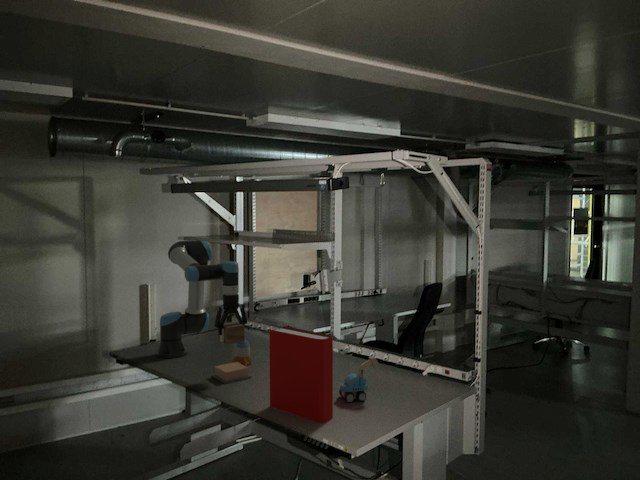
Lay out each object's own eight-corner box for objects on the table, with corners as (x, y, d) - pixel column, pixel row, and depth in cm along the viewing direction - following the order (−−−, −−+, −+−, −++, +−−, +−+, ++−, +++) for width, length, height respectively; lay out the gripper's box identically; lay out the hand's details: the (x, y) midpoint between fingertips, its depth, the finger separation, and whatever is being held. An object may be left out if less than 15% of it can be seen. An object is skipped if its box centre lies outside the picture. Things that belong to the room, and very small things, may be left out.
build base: (212, 376, 246) (211, 366, 246) (237, 370, 255) (237, 361, 254) (225, 384, 235) (224, 373, 235) (251, 378, 243) (251, 367, 243)
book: (269, 406, 208) (269, 329, 206) (283, 400, 214) (282, 326, 212) (321, 423, 190) (321, 339, 189) (334, 417, 197) (334, 335, 195)
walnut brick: (218, 340, 245) (217, 324, 245) (234, 337, 251) (234, 321, 250) (227, 344, 237) (227, 327, 237) (244, 341, 243) (244, 325, 242)
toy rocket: (250, 371, 256) (243, 344, 254) (230, 374, 259) (223, 346, 256) (256, 362, 266) (249, 336, 264) (237, 365, 269) (230, 338, 266)
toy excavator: (381, 399, 215) (381, 359, 214) (344, 403, 210) (344, 363, 210) (373, 392, 223) (373, 354, 223) (337, 396, 219) (337, 357, 218)
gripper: (213, 297, 233) (213, 345, 234) (254, 292, 246) (255, 338, 247) (206, 295, 239) (207, 342, 240) (247, 290, 252) (247, 335, 253)
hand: (231, 340), depth 244 cm, fingers closed on walnut brick, 9 cm apart
